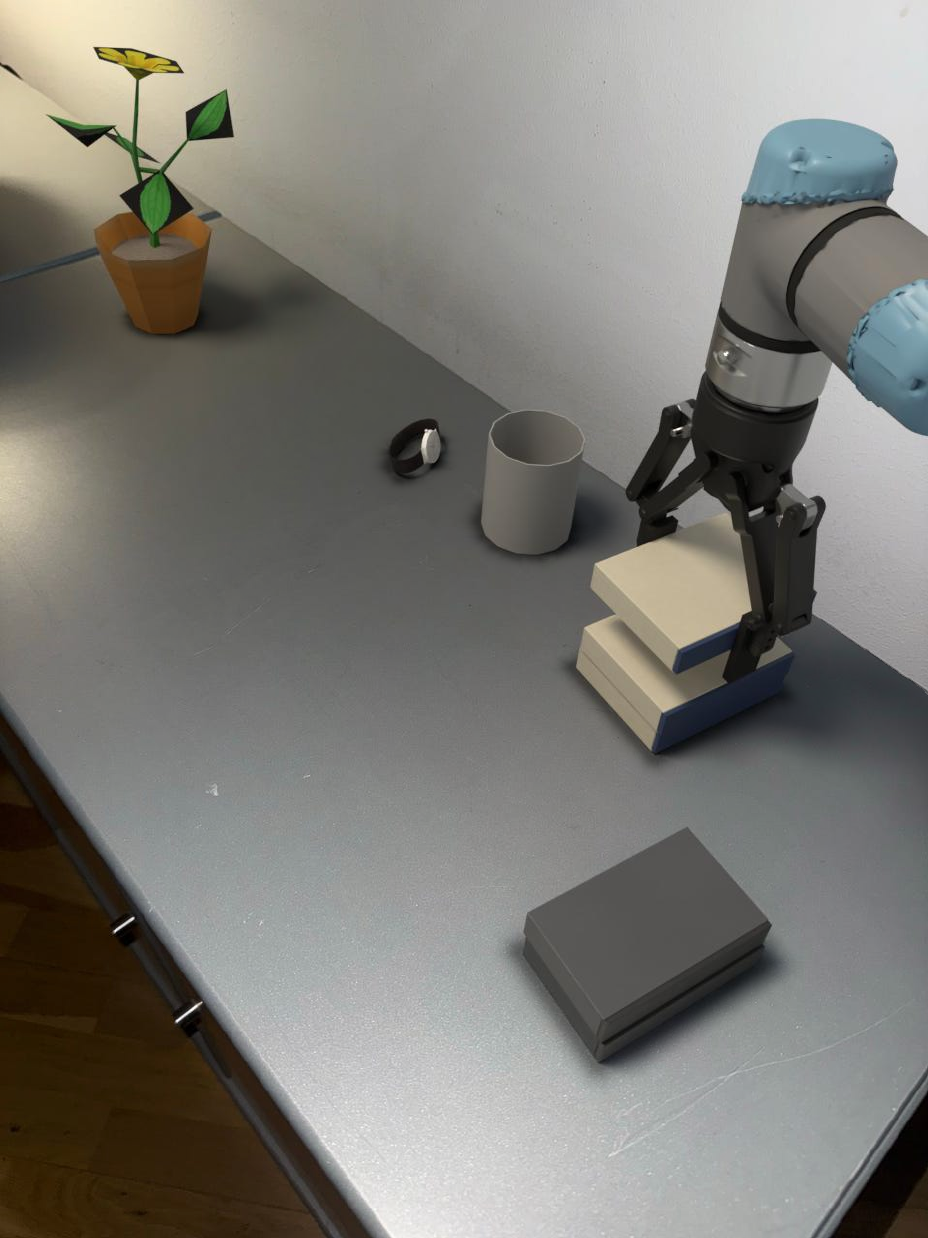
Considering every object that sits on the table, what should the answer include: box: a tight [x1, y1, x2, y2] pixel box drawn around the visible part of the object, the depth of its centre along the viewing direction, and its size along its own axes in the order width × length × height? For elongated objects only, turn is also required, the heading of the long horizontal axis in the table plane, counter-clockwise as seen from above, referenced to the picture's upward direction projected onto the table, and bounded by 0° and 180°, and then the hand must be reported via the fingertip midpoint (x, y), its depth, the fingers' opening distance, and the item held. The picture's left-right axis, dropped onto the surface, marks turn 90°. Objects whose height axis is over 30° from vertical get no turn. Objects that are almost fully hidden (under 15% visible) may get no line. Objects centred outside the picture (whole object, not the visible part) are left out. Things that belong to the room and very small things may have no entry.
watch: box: [387, 418, 441, 474], centre depth 107 cm, size 8×5×4 cm, turn 159°
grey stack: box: [522, 826, 773, 1063], centre depth 70 cm, size 9×13×5 cm, turn 122°
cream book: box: [590, 512, 818, 675], centre depth 82 cm, size 10×13×2 cm
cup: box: [480, 409, 586, 556], centre depth 98 cm, size 8×8×10 cm
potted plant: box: [45, 46, 235, 335], centre depth 114 cm, size 18×19×30 cm
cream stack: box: [575, 613, 796, 754], centre depth 87 cm, size 10×13×5 cm
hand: (691, 627), depth 85 cm, fingers closed on cream book, 10 cm apart
